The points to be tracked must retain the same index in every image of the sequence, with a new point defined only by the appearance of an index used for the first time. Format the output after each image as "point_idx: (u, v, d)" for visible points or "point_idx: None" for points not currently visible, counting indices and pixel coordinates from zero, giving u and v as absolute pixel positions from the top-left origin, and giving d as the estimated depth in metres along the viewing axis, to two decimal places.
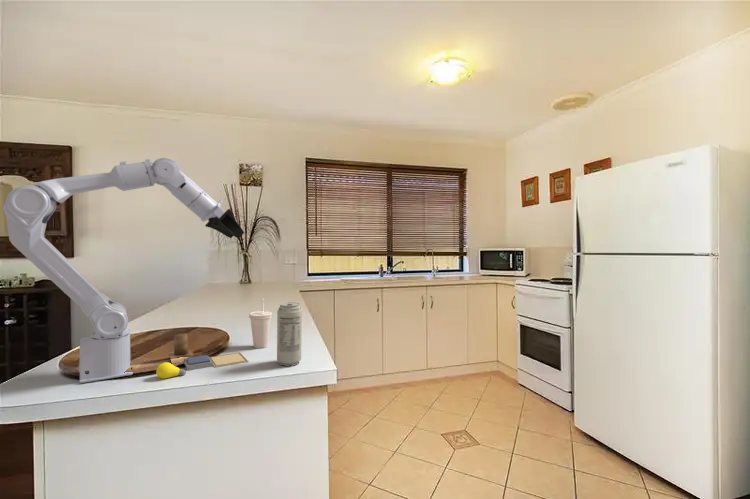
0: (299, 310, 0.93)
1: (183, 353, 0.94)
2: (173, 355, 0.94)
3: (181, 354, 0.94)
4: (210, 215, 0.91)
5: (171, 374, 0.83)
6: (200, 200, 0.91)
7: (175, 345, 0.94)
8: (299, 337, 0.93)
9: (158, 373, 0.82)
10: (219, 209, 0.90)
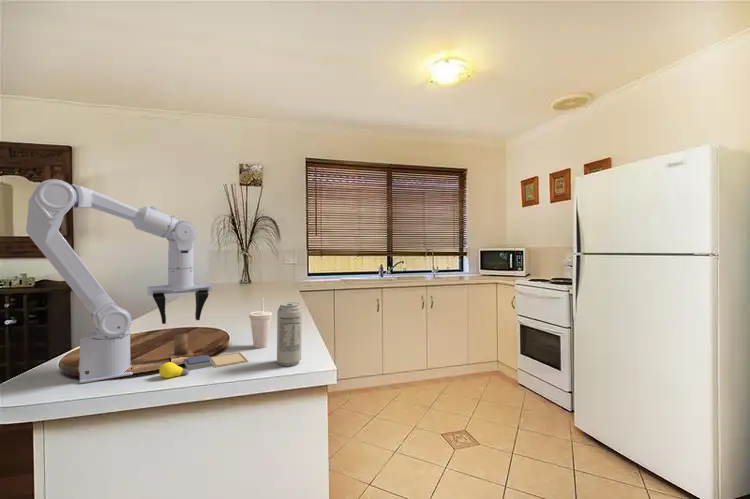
0: (299, 310, 0.93)
1: (183, 353, 0.94)
2: (173, 355, 0.94)
3: (181, 354, 0.94)
4: (202, 286, 0.96)
5: (174, 374, 0.83)
6: None
7: (175, 345, 0.94)
8: (299, 337, 0.93)
9: (161, 373, 0.82)
10: None
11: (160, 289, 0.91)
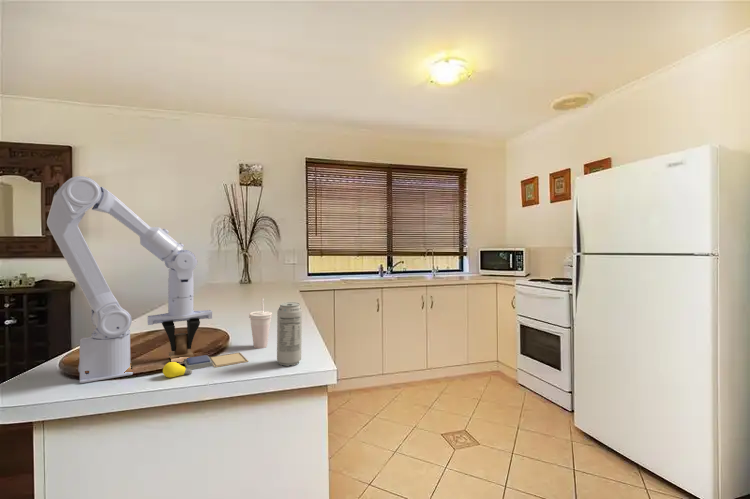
0: (299, 310, 0.93)
1: (183, 353, 0.94)
2: (173, 355, 0.94)
3: (181, 354, 0.94)
4: (202, 313, 0.96)
5: (177, 373, 0.84)
6: (193, 298, 0.96)
7: (175, 345, 0.94)
8: (299, 337, 0.93)
9: (164, 372, 0.82)
10: None
11: (160, 318, 0.91)
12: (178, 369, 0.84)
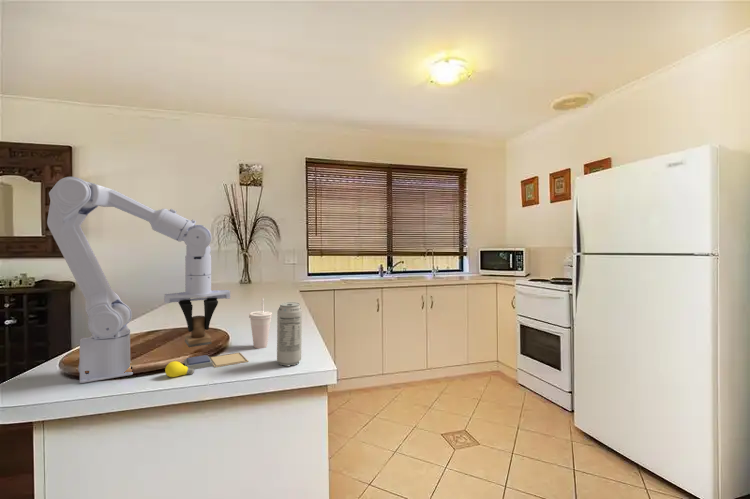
0: (299, 310, 0.93)
1: (201, 336, 0.91)
2: (190, 338, 0.90)
3: (199, 337, 0.91)
4: (220, 293, 0.93)
5: (180, 373, 0.84)
6: None
7: None
8: (299, 337, 0.93)
9: (167, 372, 0.83)
10: None
11: (177, 297, 0.87)
12: (180, 369, 0.84)
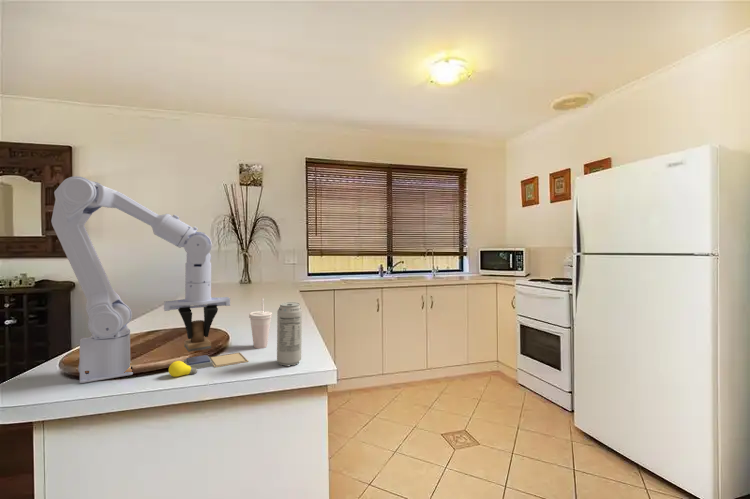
0: (299, 310, 0.93)
1: (200, 340, 0.91)
2: (190, 342, 0.90)
3: (198, 341, 0.91)
4: (220, 300, 0.93)
5: (183, 372, 0.84)
6: None
7: (192, 332, 0.90)
8: (299, 337, 0.93)
9: (170, 371, 0.83)
10: None
11: (177, 304, 0.87)
12: (184, 368, 0.84)
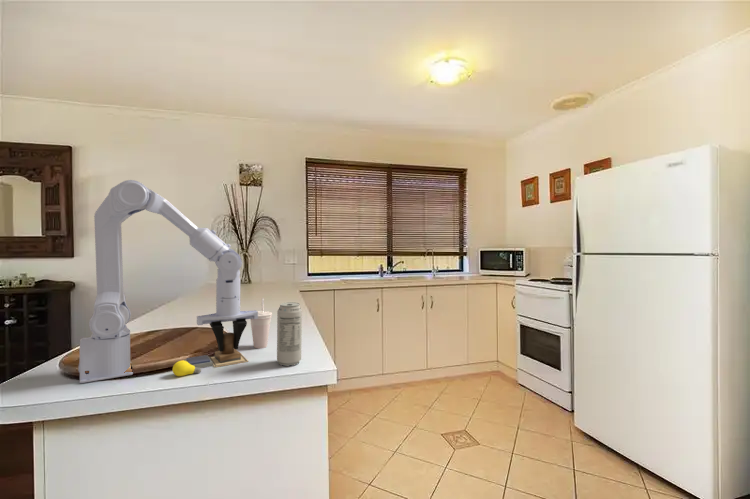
0: (299, 310, 0.93)
1: (231, 352, 0.95)
2: (221, 354, 0.94)
3: (229, 353, 0.95)
4: (249, 314, 0.97)
5: (187, 372, 0.84)
6: None
7: (223, 344, 0.95)
8: (299, 337, 0.93)
9: (174, 371, 0.83)
10: None
11: (209, 319, 0.91)
12: (188, 368, 0.84)
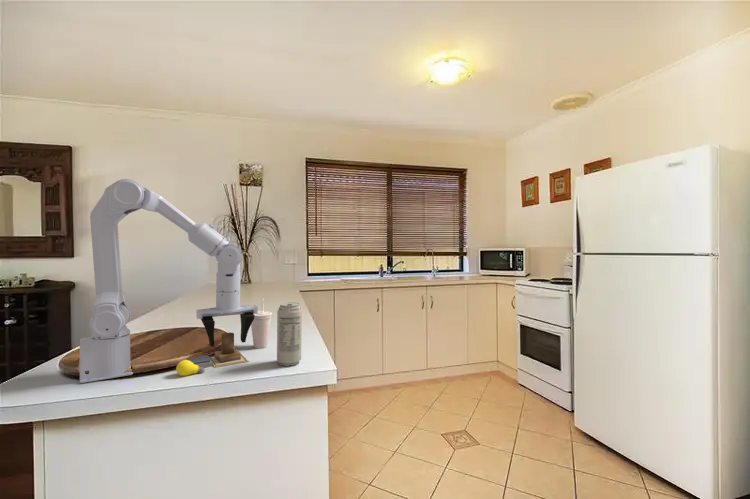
0: (299, 310, 0.93)
1: (231, 352, 0.95)
2: (221, 354, 0.94)
3: (229, 353, 0.95)
4: (248, 308, 0.97)
5: (191, 371, 0.85)
6: None
7: (223, 344, 0.95)
8: (299, 337, 0.93)
9: (178, 370, 0.84)
10: None
11: (209, 312, 0.91)
12: (191, 367, 0.85)
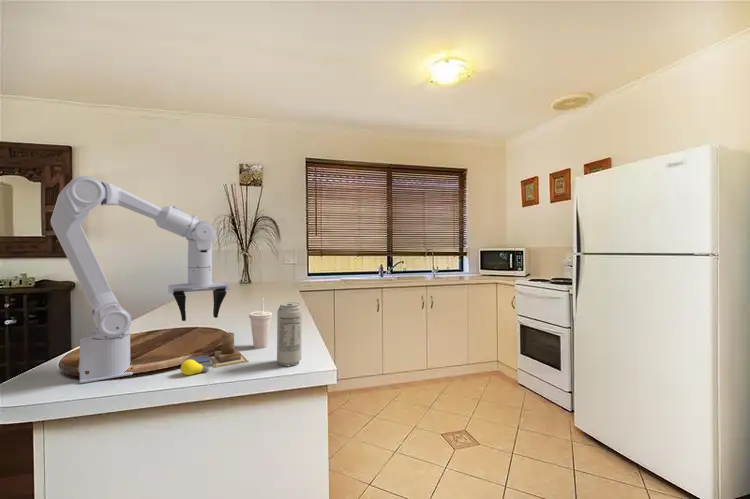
0: (299, 310, 0.93)
1: (231, 352, 0.95)
2: (221, 354, 0.94)
3: (229, 353, 0.95)
4: (220, 284, 0.99)
5: (195, 371, 0.85)
6: None
7: (223, 344, 0.95)
8: (299, 337, 0.93)
9: (182, 370, 0.84)
10: None
11: (180, 287, 0.94)
12: (195, 367, 0.85)
